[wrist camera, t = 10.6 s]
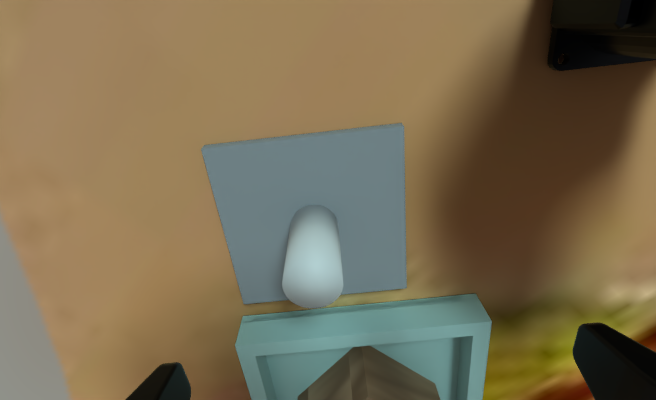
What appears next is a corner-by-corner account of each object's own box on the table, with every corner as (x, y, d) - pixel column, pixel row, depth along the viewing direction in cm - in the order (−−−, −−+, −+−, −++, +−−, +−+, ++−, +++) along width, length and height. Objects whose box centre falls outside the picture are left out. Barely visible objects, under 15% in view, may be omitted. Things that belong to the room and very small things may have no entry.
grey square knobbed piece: (401, 122, 18) (433, 161, 13) (404, 281, 22) (429, 356, 17) (204, 145, 18) (160, 191, 13) (245, 297, 23) (224, 375, 18)
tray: (475, 293, 23) (491, 321, 21) (462, 436, 29) (473, 468, 27) (242, 316, 23) (235, 345, 21) (281, 451, 30) (278, 485, 28)
